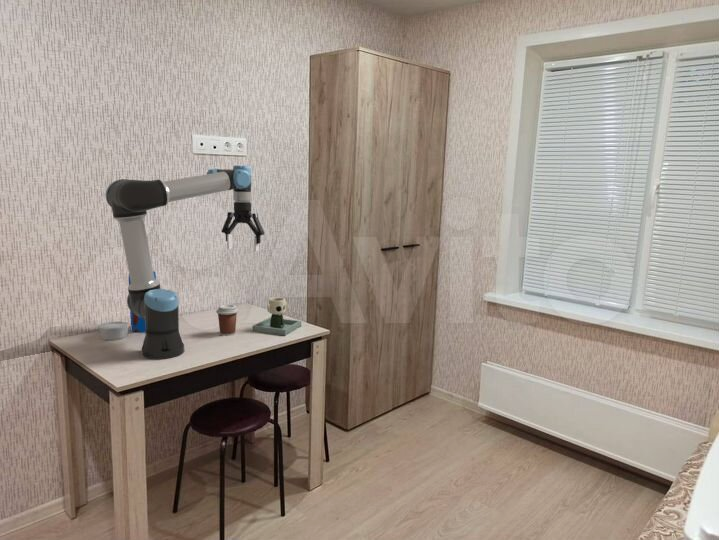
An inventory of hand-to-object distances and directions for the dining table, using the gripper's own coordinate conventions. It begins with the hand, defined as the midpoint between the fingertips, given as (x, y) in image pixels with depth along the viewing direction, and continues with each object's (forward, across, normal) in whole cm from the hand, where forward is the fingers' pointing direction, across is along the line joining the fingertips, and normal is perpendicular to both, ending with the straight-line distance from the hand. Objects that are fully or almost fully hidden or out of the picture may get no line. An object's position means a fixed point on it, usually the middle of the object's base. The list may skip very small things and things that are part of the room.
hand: (243, 250), depth 227 cm
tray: (+35, -16, -2) cm, 38 cm away
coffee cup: (+35, 0, +13) cm, 37 cm away
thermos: (+35, +36, +22) cm, 55 cm away
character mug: (+34, -16, -2) cm, 38 cm away
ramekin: (+35, +39, +36) cm, 64 cm away
